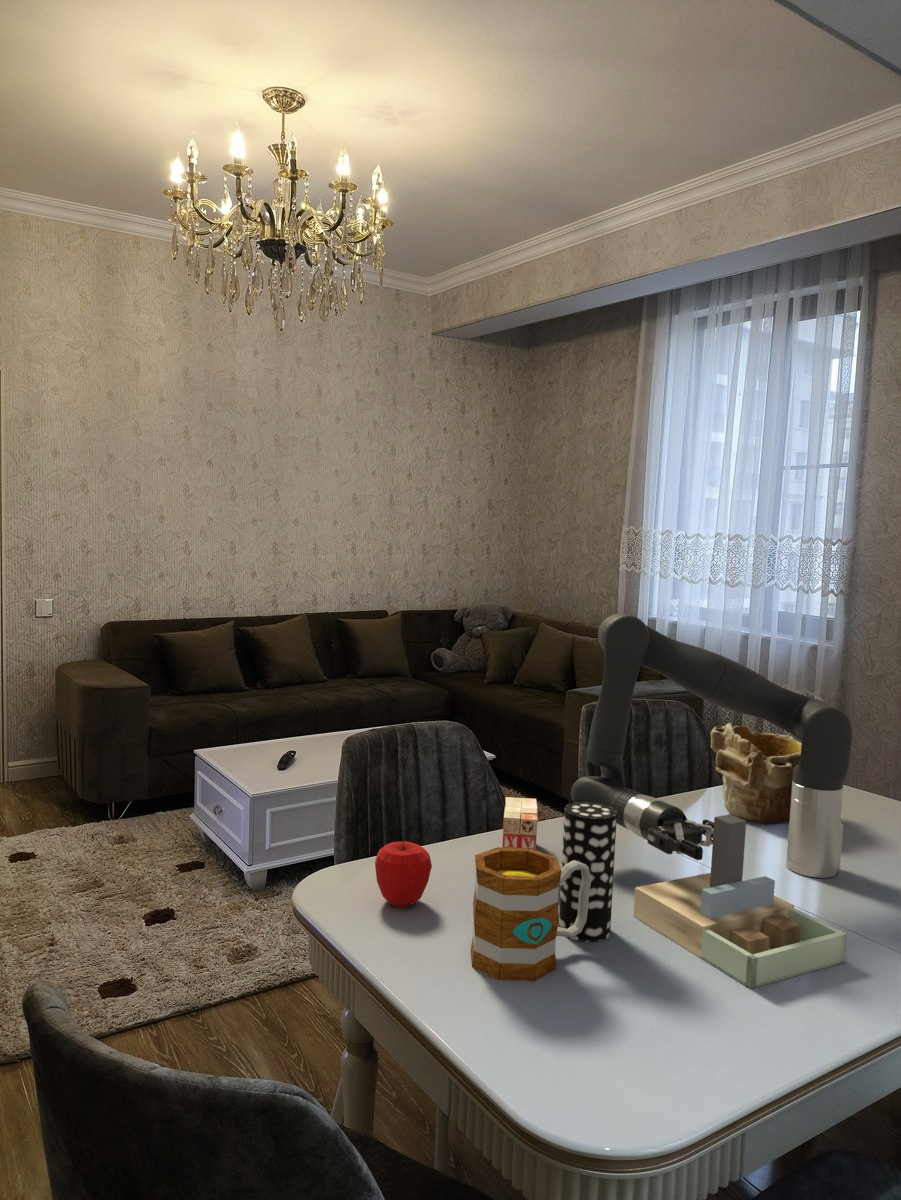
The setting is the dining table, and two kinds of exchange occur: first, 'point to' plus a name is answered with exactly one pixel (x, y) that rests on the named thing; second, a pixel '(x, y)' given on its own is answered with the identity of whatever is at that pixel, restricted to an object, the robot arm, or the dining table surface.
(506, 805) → the stack of blocks
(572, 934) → the mug
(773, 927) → the brown wood cube
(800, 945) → the tray
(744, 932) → the brown wooden cube
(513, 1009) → the dining table surface
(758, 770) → the ceramic vessel
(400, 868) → the apple
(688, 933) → the board
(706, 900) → the scraper
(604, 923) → the spotted tube
